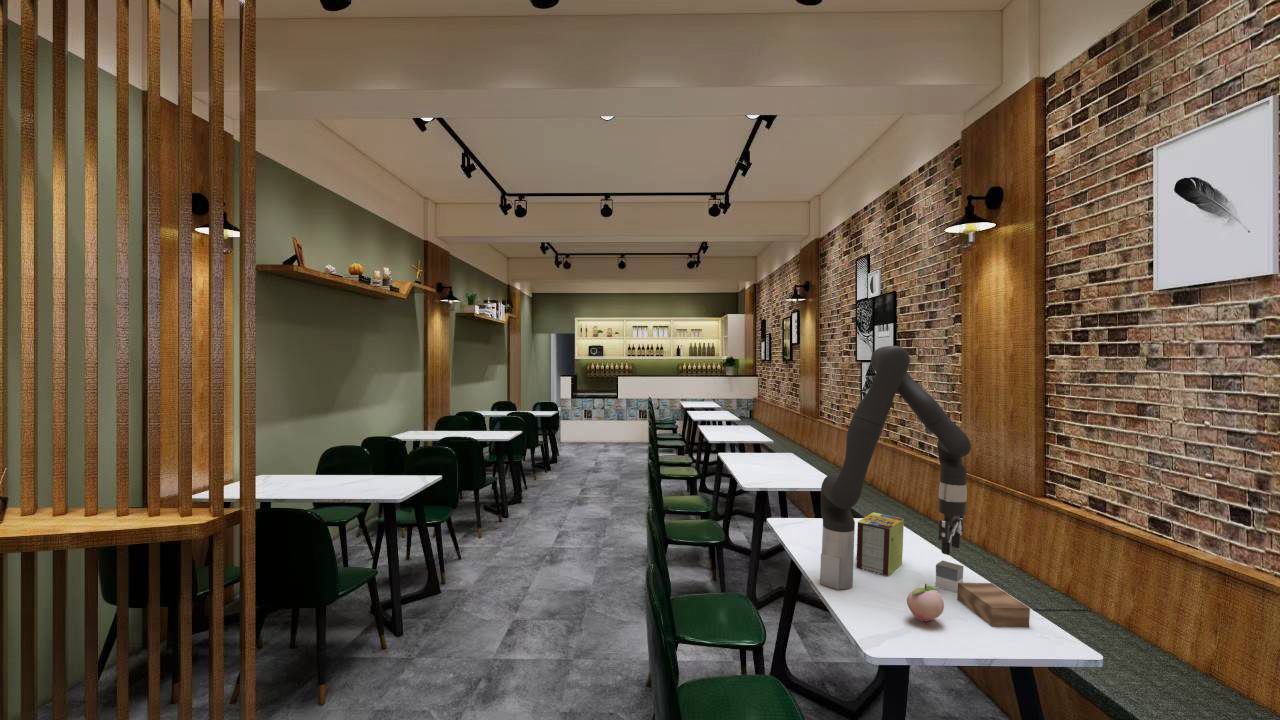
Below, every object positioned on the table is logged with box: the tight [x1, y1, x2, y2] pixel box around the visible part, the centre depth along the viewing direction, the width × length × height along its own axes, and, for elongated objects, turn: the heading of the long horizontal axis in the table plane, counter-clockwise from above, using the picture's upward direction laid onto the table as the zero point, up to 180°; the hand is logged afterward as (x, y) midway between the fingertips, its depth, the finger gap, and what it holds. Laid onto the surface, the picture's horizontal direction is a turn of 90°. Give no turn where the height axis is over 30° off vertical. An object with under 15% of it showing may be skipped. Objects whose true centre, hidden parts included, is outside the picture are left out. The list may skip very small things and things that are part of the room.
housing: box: [934, 559, 964, 594], centre depth 178 cm, size 5×6×7 cm
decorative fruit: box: [906, 583, 945, 622], centre depth 155 cm, size 9×8×10 cm
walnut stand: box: [956, 582, 1031, 628], centre depth 162 cm, size 16×10×5 cm, turn 1°
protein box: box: [855, 512, 905, 577], centre depth 194 cm, size 10×15×16 cm
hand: (950, 550), depth 178 cm, fingers open, 8 cm apart
